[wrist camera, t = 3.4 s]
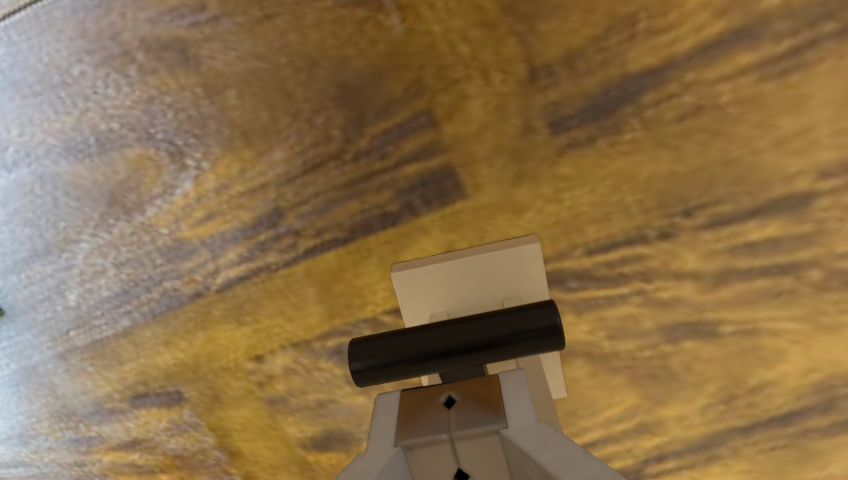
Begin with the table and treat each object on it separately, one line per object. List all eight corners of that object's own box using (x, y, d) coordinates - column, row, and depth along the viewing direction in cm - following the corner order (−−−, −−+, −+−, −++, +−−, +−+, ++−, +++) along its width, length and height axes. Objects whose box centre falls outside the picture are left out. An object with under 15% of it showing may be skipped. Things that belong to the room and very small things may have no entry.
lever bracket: (391, 264, 28) (357, 431, 16) (536, 233, 27) (611, 385, 16) (433, 407, 32) (430, 629, 20) (562, 384, 31) (640, 602, 19)
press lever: (348, 309, 13) (345, 398, 11) (545, 269, 12) (573, 355, 11) (442, 471, 22) (449, 535, 20) (562, 451, 21) (579, 516, 19)
